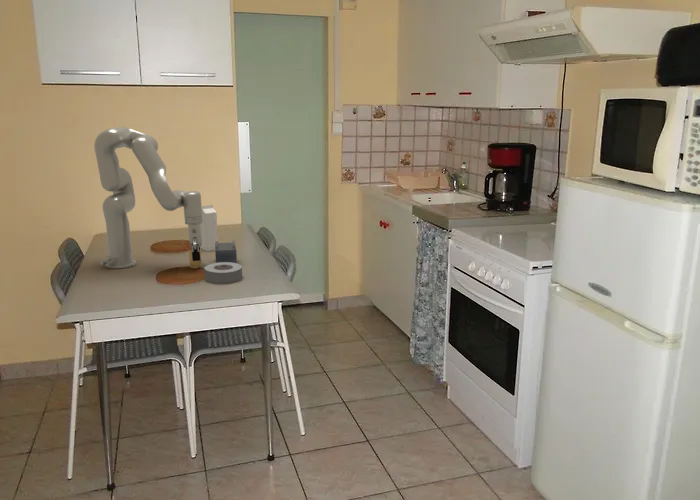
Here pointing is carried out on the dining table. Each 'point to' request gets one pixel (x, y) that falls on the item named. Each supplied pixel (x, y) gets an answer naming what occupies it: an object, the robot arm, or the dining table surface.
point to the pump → (194, 263)
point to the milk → (209, 228)
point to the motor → (225, 252)
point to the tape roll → (223, 272)
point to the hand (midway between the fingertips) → (196, 257)
